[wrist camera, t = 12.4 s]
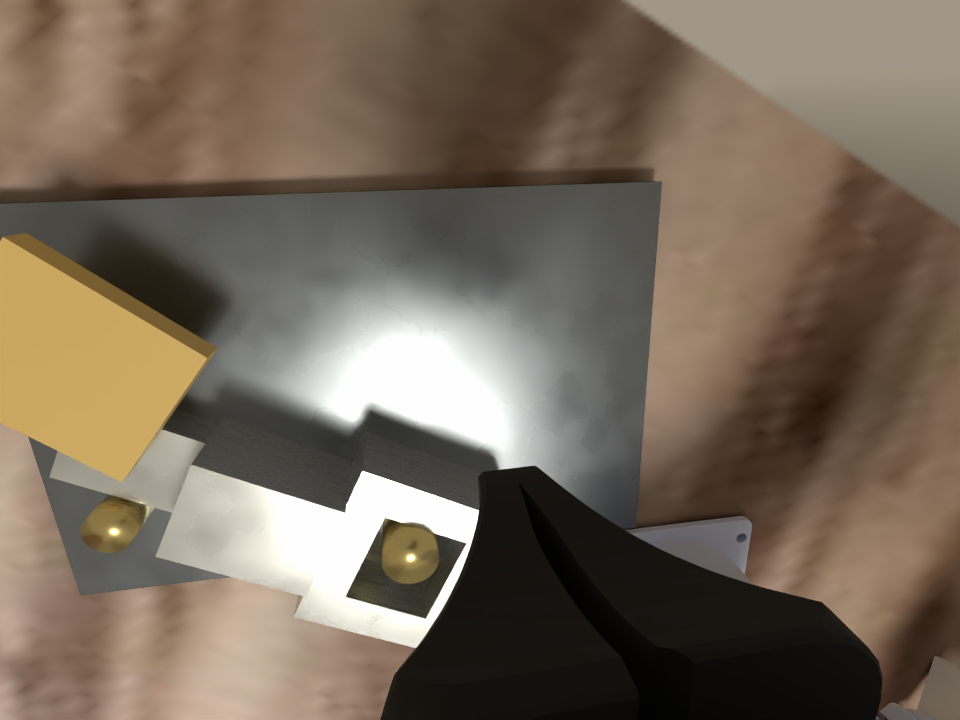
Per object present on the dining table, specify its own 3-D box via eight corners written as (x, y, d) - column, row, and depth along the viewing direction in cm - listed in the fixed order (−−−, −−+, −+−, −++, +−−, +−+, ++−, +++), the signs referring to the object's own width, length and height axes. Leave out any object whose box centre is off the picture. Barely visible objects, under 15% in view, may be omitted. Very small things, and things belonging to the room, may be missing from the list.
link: (502, 480, 23) (520, 532, 20) (437, 599, 24) (444, 665, 21) (112, 339, 19) (53, 374, 15) (62, 492, 20) (-2, 554, 17)
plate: (628, 517, 25) (635, 527, 25) (90, 581, 22) (80, 595, 22) (651, 181, 21) (661, 181, 20) (-29, 204, 18) (-48, 205, 17)
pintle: (433, 522, 23) (440, 579, 20) (385, 527, 23) (384, 587, 19) (430, 480, 22) (437, 533, 19) (381, 485, 22) (379, 539, 19)
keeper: (236, 329, 19) (207, 357, 16) (162, 436, 20) (122, 482, 17) (66, 223, 17) (-2, 234, 14) (-8, 346, 18) (-86, 380, 15)
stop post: (162, 513, 21) (137, 550, 19) (117, 517, 21) (87, 555, 19) (153, 476, 20) (126, 510, 18) (107, 480, 20) (74, 515, 18)
